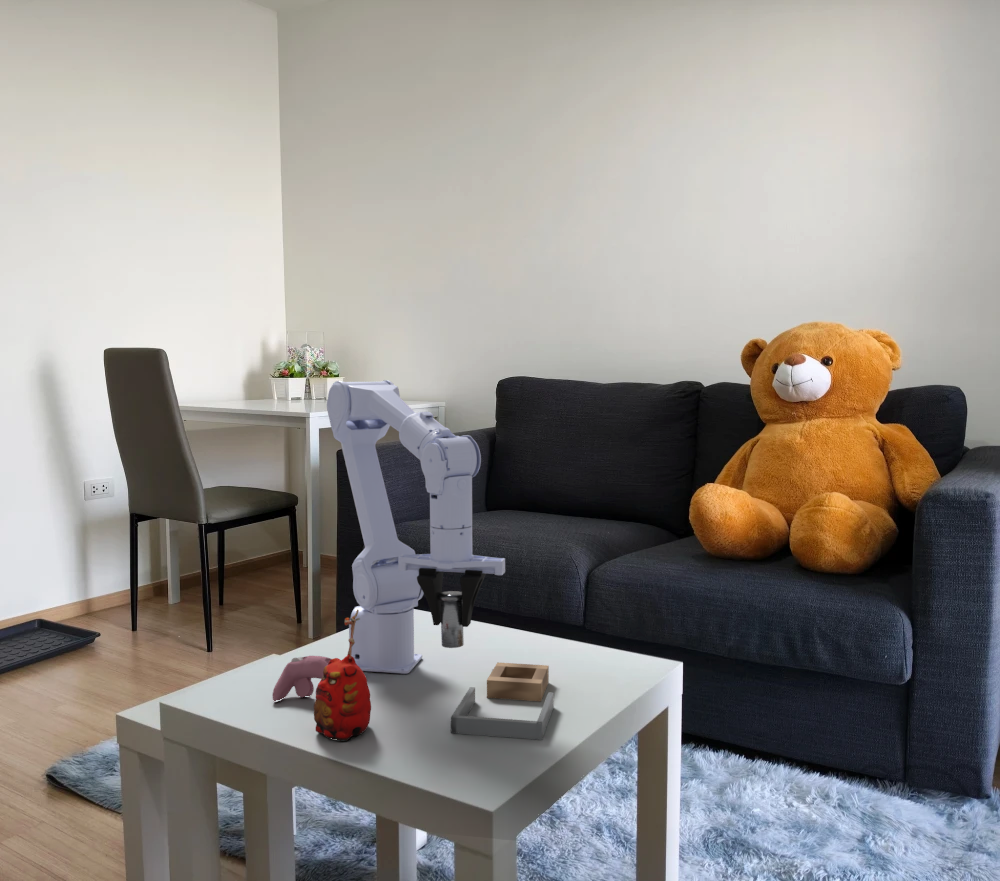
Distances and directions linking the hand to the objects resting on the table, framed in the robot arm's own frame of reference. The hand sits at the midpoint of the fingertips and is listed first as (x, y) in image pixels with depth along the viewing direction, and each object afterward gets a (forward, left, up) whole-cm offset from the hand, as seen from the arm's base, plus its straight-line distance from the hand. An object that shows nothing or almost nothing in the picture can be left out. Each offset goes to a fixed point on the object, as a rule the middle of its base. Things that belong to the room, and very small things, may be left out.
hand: (452, 624), depth 123 cm
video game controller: (-19, -5, -11) cm, 22 cm away
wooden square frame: (+8, +4, -10) cm, 14 cm away
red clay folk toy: (-11, -14, -10) cm, 20 cm away
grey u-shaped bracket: (+8, -6, -10) cm, 15 cm away
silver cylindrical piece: (0, 0, -3) cm, 3 cm away
